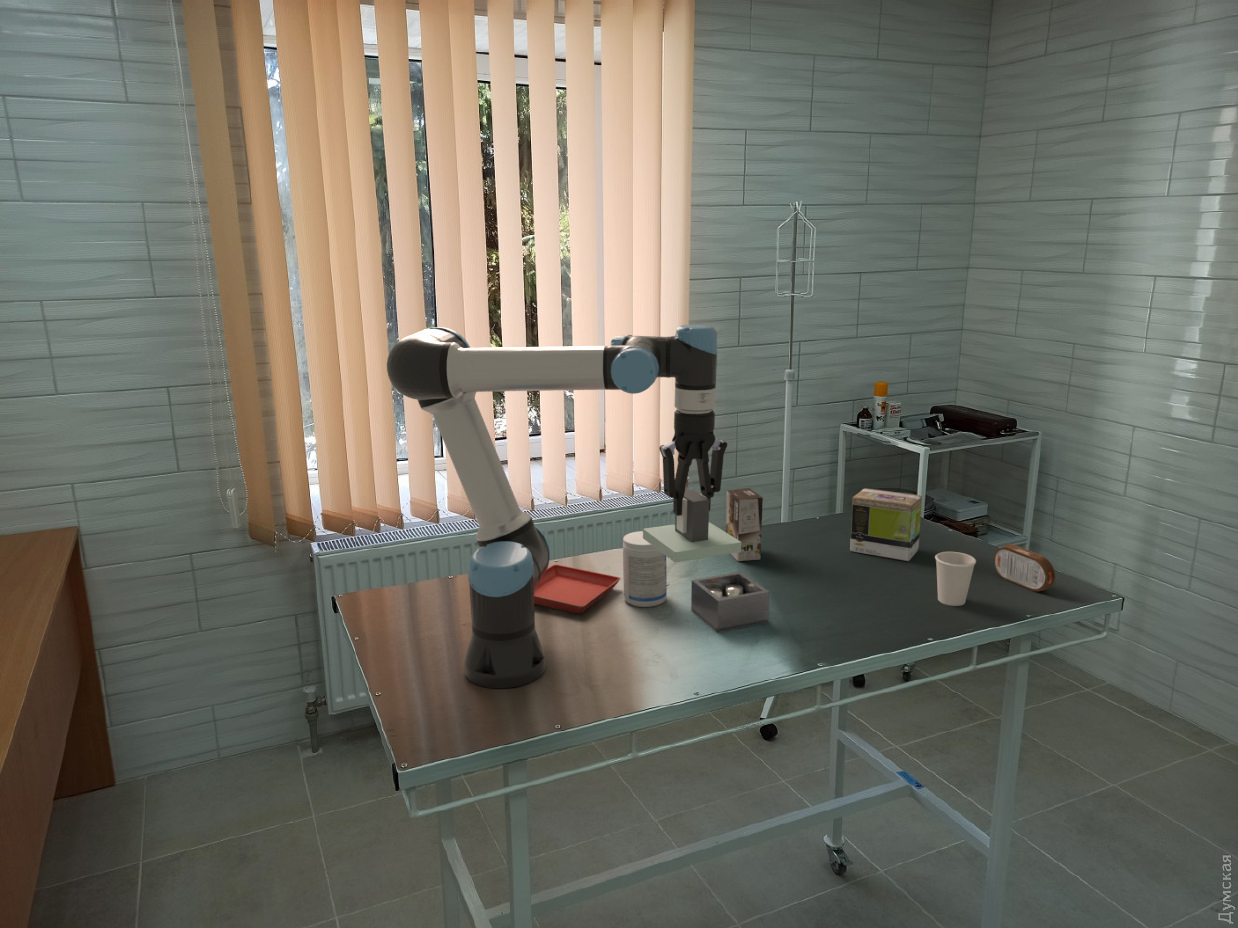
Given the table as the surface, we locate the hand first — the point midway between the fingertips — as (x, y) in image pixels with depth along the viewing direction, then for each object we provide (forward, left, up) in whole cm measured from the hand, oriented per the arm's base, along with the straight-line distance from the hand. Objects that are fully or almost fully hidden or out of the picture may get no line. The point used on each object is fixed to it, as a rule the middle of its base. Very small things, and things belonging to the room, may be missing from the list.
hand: (691, 528), depth 171 cm
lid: (0, 0, -3) cm, 3 cm away
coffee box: (+34, +39, -24) cm, 57 cm away
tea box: (+68, +27, -24) cm, 77 cm away
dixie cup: (+62, -4, -24) cm, 67 cm away
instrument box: (+13, +8, -24) cm, 29 cm away
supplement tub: (0, +23, -24) cm, 34 cm away
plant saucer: (-15, +32, -25) cm, 43 cm away
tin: (+83, -3, -24) cm, 87 cm away
